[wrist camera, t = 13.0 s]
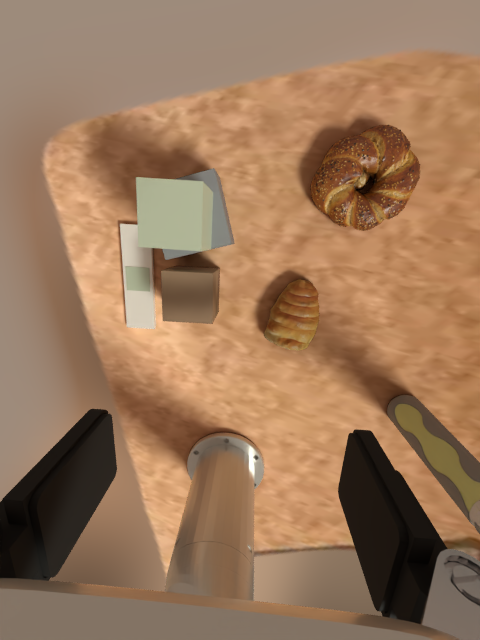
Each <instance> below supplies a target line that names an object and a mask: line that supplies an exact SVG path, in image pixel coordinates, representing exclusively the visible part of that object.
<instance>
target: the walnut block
mask: <svg viewBox="0 0 480 640" xmlns="http://www.w3.org/2000/svg"><path fill="white" fill-rule="evenodd" d="M219 278H220V268H207V267H187V266H174V267H171V268H168V269H165V270H162V271H161V283H162V311H163V321H172V322H189V323H206V324H213V322H214V320H215V318H216V316H217V314H218V312H219Z"/></svg>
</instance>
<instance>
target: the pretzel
mask: <svg viewBox="0 0 480 640" xmlns="http://www.w3.org/2000/svg"><path fill="white" fill-rule="evenodd" d="M410 147H411V146H410V141H408V139H407V138H406V136H405V135H404V134H403V132H401V130H399V129H397V128H395V127H393V126H390V125H379V126H376V127H372V128H370V129H368V130H367V131H365V132H363V133H362V134H361V135H357V136H353V137H347V138H344V139H341V140H340V141H338V142H337V143H335V144H334V145H332V147H331V149H330V150H329V151H328V152H327V154H326V156H325V158H324V160H323V163H322V166H321V167H320V168H319V170H318V171H317V172H316V174H315V176H314V177H313V180H312V184H311V196H312V198H313V201H314V203H315V205H316V206H317V207H318V209H319V210H321V212H324V213H325V214H328V215H329V216H330V218H331V219H332V220H333V221H334V223H336V224H338V225H340V226H345V227H346V226H351V225H352V226H353V227H354V228H355V229H358V230H363V231H364V230H370V229H371V228H374V227H375V226H377V225H379V224H380V223H381V222H382V221H383V220H384V219H388V220H389V219H390V218H392V217H394V216H396V215H398V213H400V212H401V211H402V209H404V208H405V205H406V203H407V201H408V200H409V198H410V196H411V194H412V192H413V190H414V188H415V186H416V184H417V182H418V180H419V178H420V177H419V175H420V164H419V161H418V159H417V157H416V156H415V155H414V153H413V152H412V151H411V150H410ZM370 177H371V178H372V179H374V183H373V186H372V187H371V189H370V190H369V191H368V192H367V193H366V194H361V193H359V192H358V191H356V190H355V189H361V190H362V188H363V187H364V186H365V185H366V183H367V182H368V180H369V178H370Z"/></svg>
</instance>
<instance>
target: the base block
mask: <svg viewBox="0 0 480 640" xmlns="http://www.w3.org/2000/svg"><path fill="white" fill-rule="evenodd" d="M174 180H190V181H203V182H204V183H205V184H206V185H207V186H208V187H209V188H210V189H211V191H212V192H213V211H212V240H211V249H215V248H219V247H223V246H227V245H231V244H235V243H234V238H233V234H232V230H231V225H230V221H229V216H228V212H227V207H226V203H225V199H224V194H223V190H222V185H221V181H220V177H219V176H218V174H217V172H216V171H215V169H214V168H213V169H210V170H206V171H203V172H199V173H195V174H192V175H188V176H184V177H181V178H177V179H174ZM162 250H163V253H164V257H165V260H168V259H173V258H177V257H181V256H185V255H189V254H194V253H198V252H202V251H188V250H174V249H162ZM205 251H206V250H205Z"/></svg>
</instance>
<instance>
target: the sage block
mask: <svg viewBox="0 0 480 640" xmlns="http://www.w3.org/2000/svg"><path fill="white" fill-rule="evenodd" d="M136 193H137V220H138V247H146V248H160V249H174V250H188V251H205V250H210V249H211V240H212V211H213V192H212V191H211V189H210V188H209V187H208V186H207V185H206V184H205V183H204V182H203V181H190V180H174V179H159V178H143V177H136Z"/></svg>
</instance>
